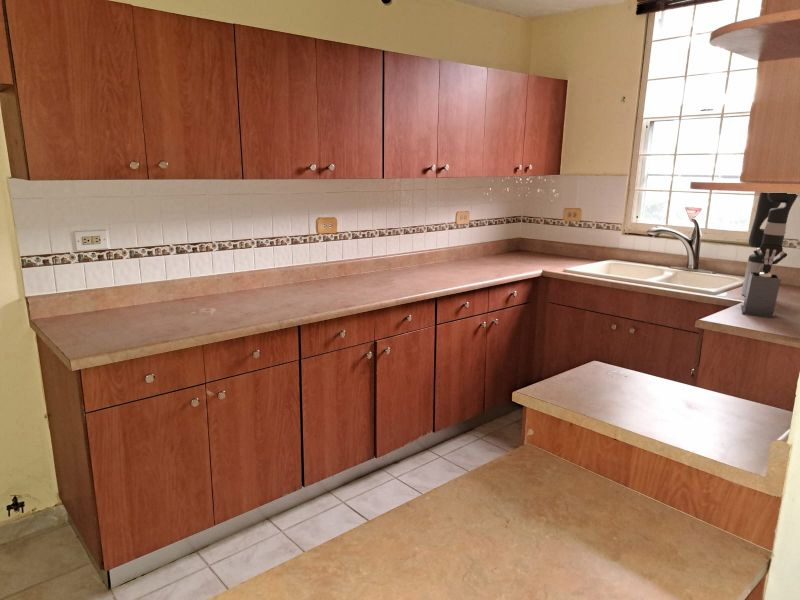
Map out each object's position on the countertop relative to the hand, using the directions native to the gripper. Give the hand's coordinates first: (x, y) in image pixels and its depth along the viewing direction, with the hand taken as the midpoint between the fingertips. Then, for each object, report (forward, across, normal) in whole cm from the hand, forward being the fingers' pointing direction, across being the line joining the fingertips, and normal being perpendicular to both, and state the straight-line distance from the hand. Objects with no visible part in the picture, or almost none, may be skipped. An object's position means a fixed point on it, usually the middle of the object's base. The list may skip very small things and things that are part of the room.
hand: (765, 272), depth 251 cm
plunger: (+17, 0, 0) cm, 17 cm away
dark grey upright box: (+18, 0, 0) cm, 18 cm away
